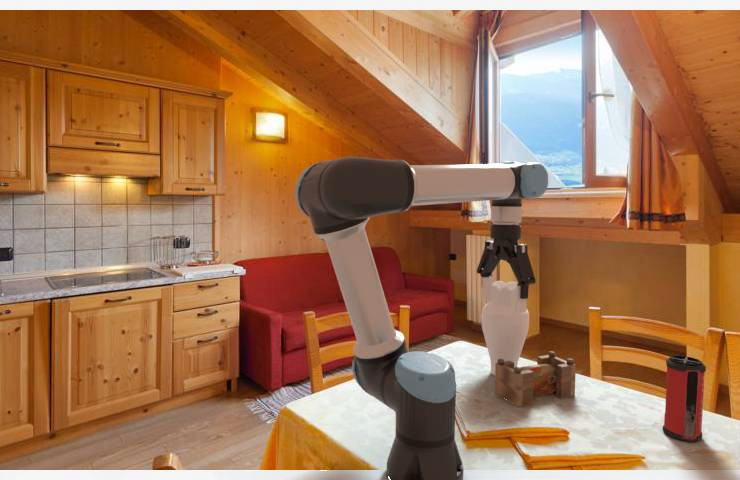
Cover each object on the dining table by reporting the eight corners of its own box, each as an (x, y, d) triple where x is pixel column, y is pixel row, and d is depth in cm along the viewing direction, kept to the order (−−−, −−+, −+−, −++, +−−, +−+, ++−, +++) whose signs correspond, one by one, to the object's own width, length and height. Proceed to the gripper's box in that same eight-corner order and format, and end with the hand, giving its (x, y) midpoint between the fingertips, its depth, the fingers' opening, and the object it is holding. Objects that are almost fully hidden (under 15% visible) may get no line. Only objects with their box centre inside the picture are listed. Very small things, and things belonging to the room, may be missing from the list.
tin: (515, 400, 127) (516, 370, 127) (509, 395, 130) (509, 366, 130) (560, 393, 132) (561, 364, 131) (553, 389, 135) (554, 361, 134)
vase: (478, 379, 142) (480, 286, 140) (481, 363, 156) (483, 279, 154) (528, 384, 138) (531, 289, 136) (527, 368, 152) (529, 281, 150)
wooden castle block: (575, 395, 130) (576, 360, 129) (517, 407, 122) (518, 370, 122) (550, 383, 139) (551, 350, 138) (494, 393, 131) (495, 358, 131)
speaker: (664, 423, 113) (668, 352, 112) (703, 433, 108) (707, 358, 107) (660, 435, 107) (663, 360, 106) (700, 446, 103) (705, 367, 101)
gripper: (553, 225, 107) (549, 315, 108) (488, 222, 130) (485, 296, 131) (528, 225, 104) (524, 317, 106) (465, 222, 127) (463, 298, 129)
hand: (502, 306), depth 119 cm, fingers open, 13 cm apart
